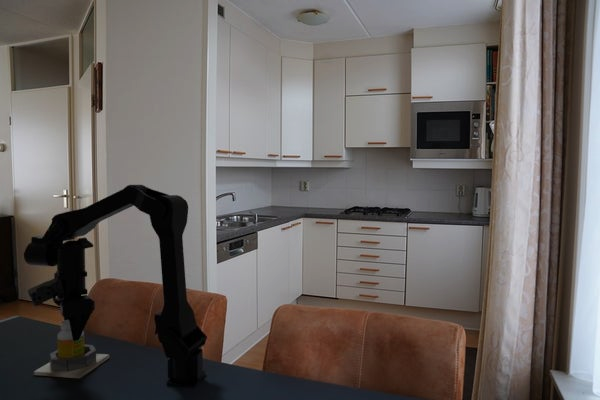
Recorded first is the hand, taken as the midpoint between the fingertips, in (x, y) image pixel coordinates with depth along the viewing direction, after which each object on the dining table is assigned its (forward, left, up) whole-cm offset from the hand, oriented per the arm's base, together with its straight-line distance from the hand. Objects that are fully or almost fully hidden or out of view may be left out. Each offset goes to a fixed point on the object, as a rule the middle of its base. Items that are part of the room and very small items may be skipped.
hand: (72, 334), depth 99 cm
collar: (0, 0, -7) cm, 7 cm away
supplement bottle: (0, 0, -7) cm, 7 cm away
